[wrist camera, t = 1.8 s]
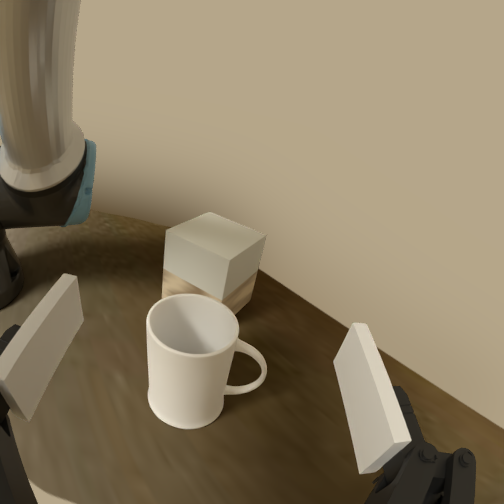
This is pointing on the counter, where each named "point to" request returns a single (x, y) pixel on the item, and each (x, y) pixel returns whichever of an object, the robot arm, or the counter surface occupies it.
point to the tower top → (213, 253)
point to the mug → (193, 359)
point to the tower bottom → (232, 301)
